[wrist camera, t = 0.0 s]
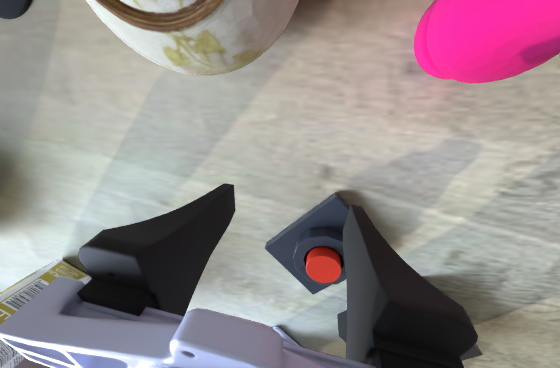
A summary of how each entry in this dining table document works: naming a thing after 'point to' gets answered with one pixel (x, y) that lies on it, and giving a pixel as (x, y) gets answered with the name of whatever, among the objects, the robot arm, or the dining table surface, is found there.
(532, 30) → the pepper mill
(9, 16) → the wine glass
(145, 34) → the sugar bowl
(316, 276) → the power button
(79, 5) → the dining table surface
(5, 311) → the juice carton
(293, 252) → the button block
